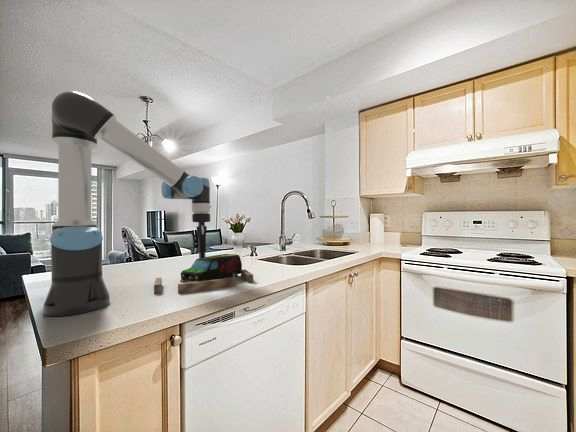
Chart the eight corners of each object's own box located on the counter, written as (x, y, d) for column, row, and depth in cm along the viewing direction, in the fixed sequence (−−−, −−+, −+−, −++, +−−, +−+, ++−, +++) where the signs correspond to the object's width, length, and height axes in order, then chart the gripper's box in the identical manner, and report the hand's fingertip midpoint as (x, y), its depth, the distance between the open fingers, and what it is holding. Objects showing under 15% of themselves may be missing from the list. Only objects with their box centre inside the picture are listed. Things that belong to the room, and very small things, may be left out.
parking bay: (153, 296, 87) (153, 287, 87) (155, 285, 101) (155, 277, 101) (255, 284, 101) (255, 276, 101) (245, 276, 115) (245, 269, 115)
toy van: (178, 286, 99) (178, 260, 99) (225, 274, 121) (225, 252, 121) (198, 290, 94) (197, 262, 94) (243, 276, 115) (243, 253, 115)
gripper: (211, 212, 111) (212, 268, 111) (208, 213, 123) (209, 263, 123) (193, 213, 108) (194, 270, 108) (191, 213, 120) (192, 265, 120)
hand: (202, 266), depth 116 cm, fingers closed
